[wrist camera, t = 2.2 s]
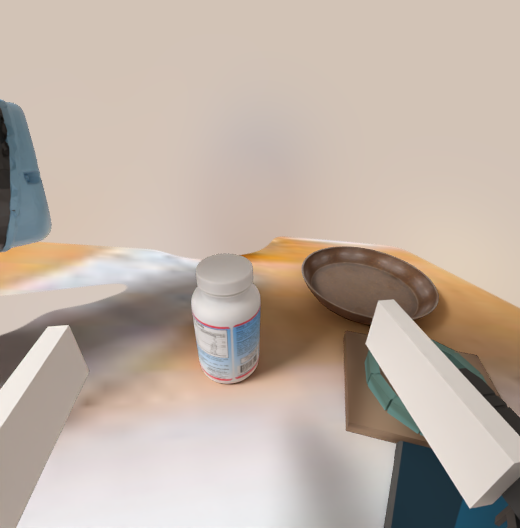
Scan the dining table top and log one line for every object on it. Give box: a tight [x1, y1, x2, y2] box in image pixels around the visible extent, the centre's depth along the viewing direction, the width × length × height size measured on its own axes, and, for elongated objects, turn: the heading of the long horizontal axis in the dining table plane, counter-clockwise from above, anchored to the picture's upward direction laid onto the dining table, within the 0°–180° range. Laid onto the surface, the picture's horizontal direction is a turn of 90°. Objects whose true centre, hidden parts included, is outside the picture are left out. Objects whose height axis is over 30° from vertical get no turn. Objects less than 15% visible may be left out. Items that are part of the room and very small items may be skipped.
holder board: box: [344, 331, 500, 448], centre depth 25 cm, size 13×10×3 cm
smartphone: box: [384, 441, 508, 528], centre depth 17 cm, size 8×15×1 cm, turn 149°
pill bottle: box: [191, 254, 261, 384], centre depth 25 cm, size 6×6×11 cm
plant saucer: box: [302, 247, 439, 325], centre depth 38 cm, size 18×18×3 cm
